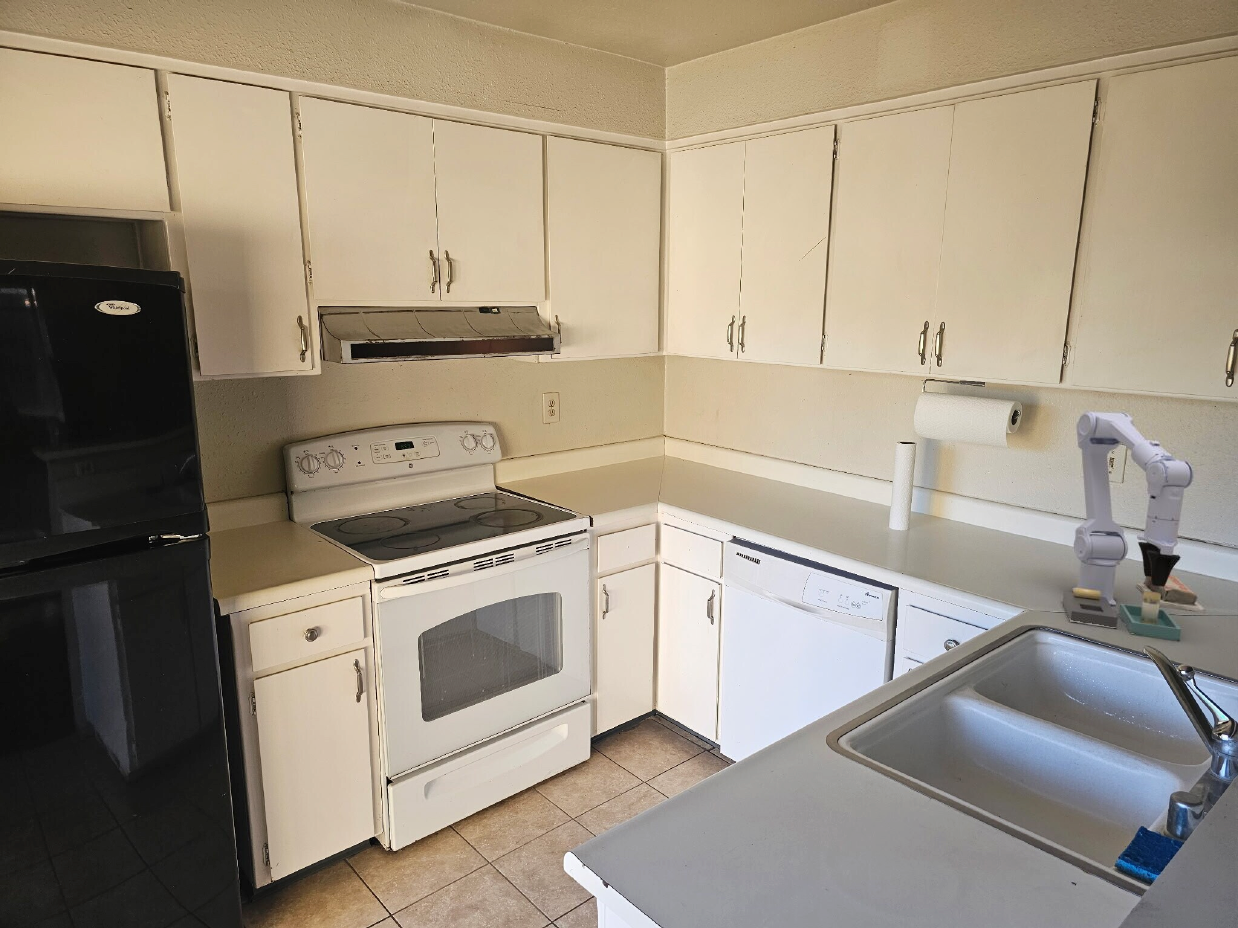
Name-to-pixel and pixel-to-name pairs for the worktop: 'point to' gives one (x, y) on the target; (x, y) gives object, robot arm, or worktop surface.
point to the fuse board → (1089, 607)
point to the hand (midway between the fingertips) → (1154, 580)
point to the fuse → (1150, 607)
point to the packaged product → (1173, 594)
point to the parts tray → (1162, 630)
